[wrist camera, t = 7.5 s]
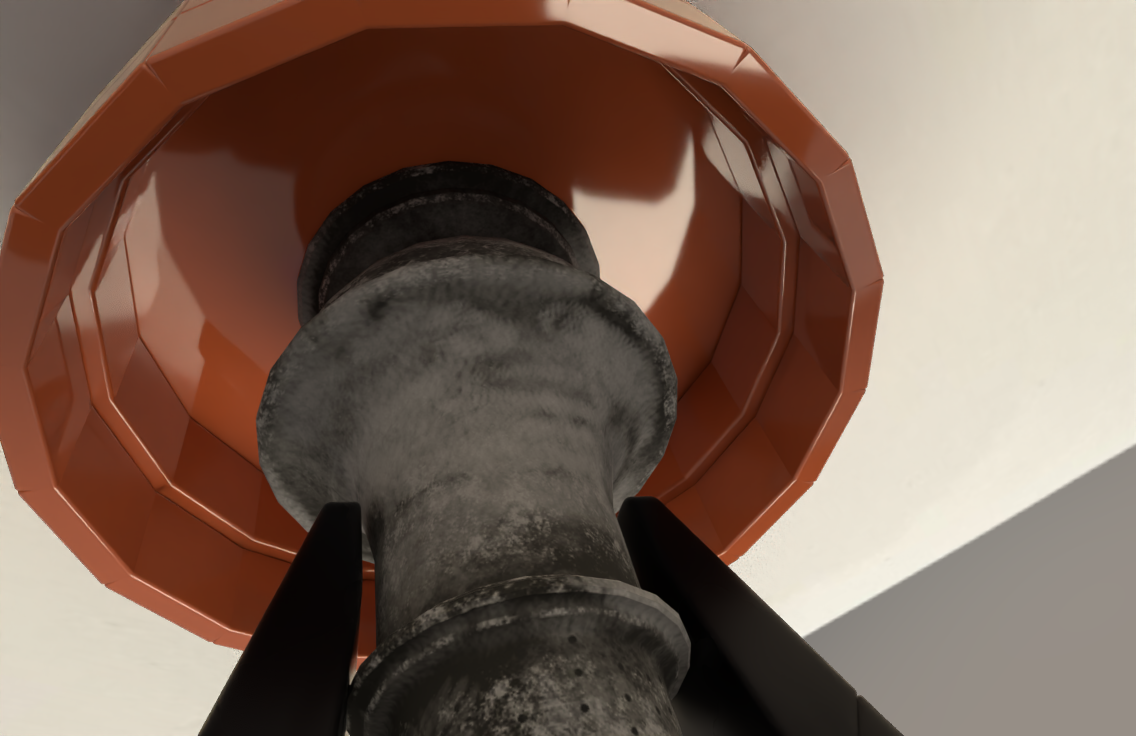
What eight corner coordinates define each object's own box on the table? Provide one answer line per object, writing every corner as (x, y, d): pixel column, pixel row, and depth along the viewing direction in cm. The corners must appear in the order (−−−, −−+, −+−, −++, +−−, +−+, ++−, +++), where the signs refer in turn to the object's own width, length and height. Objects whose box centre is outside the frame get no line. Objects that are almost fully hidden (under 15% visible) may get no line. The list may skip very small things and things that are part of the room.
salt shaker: (631, 136, 12) (1472, 1275, 3) (602, 412, 16) (941, 1309, 7) (244, 148, 11) (-338, 2082, 2) (307, 443, 15) (221, 1587, 5)
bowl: (134, 520, 16) (79, 703, 13) (-1, -197, 9) (-196, -177, 6) (665, 508, 19) (724, 649, 16) (875, -10, 12) (1048, 65, 9)
